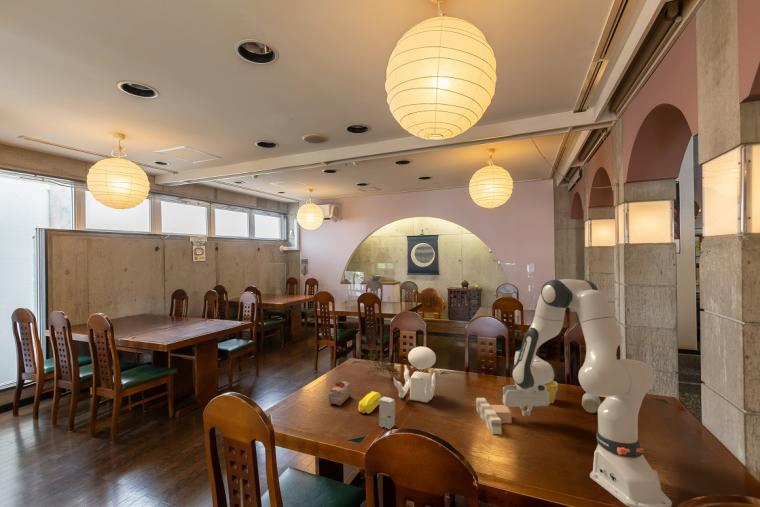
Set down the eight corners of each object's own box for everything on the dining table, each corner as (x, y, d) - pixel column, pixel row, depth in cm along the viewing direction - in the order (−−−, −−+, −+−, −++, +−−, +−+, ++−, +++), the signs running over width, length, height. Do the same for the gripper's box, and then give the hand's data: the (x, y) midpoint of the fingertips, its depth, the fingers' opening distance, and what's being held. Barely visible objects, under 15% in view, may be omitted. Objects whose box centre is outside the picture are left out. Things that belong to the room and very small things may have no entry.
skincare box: (378, 427, 156) (378, 399, 156) (383, 422, 160) (383, 396, 160) (391, 430, 153) (390, 402, 153) (395, 425, 157) (395, 398, 157)
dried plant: (414, 348, 223) (357, 316, 240) (395, 366, 195) (331, 328, 212) (398, 387, 230) (344, 353, 247) (378, 410, 202) (317, 370, 219)
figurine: (430, 411, 173) (431, 354, 173) (392, 404, 180) (393, 350, 180) (438, 393, 196) (439, 343, 196) (404, 388, 202) (405, 339, 202)
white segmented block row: (501, 434, 148) (501, 420, 148) (492, 434, 148) (491, 420, 148) (484, 409, 172) (484, 397, 172) (476, 410, 172) (476, 397, 172)
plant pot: (560, 406, 174) (560, 386, 175) (538, 404, 177) (538, 385, 177) (554, 397, 185) (554, 379, 185) (534, 396, 187) (533, 378, 187)
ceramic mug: (581, 412, 167) (581, 396, 167) (582, 406, 174) (582, 390, 174) (608, 417, 162) (608, 401, 162) (608, 411, 168) (607, 395, 168)
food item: (341, 407, 178) (340, 387, 178) (327, 405, 180) (326, 386, 181) (351, 397, 191) (351, 378, 191) (338, 395, 193) (338, 377, 194)
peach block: (511, 423, 157) (511, 412, 158) (493, 423, 158) (493, 412, 158) (506, 415, 165) (506, 405, 166) (489, 415, 166) (488, 404, 166)
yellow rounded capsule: (355, 414, 170) (369, 417, 167) (355, 400, 170) (369, 402, 167) (371, 400, 186) (384, 402, 183) (371, 387, 186) (384, 389, 183)
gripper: (505, 387, 156) (505, 418, 156) (550, 386, 157) (551, 417, 156) (500, 382, 163) (500, 412, 162) (543, 381, 163) (544, 411, 163)
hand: (526, 415), depth 159 cm, fingers closed
